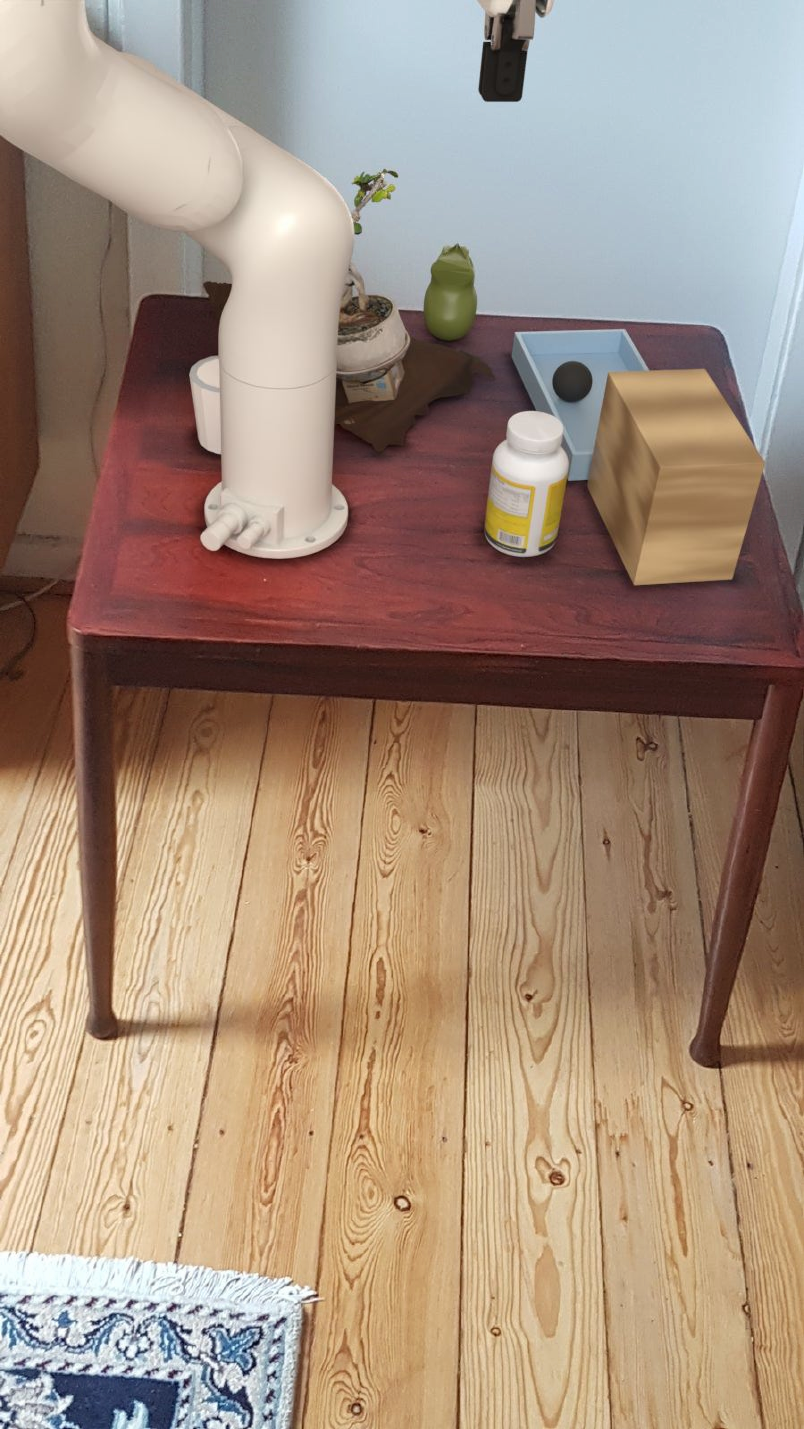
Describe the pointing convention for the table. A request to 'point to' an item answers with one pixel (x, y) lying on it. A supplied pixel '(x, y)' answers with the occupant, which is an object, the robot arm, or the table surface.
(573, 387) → the ball
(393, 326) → the potted plant
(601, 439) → the plinth
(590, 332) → the tray
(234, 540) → the robot arm
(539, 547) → the pill bottle
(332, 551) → the table surface
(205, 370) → the shot glass
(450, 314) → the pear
